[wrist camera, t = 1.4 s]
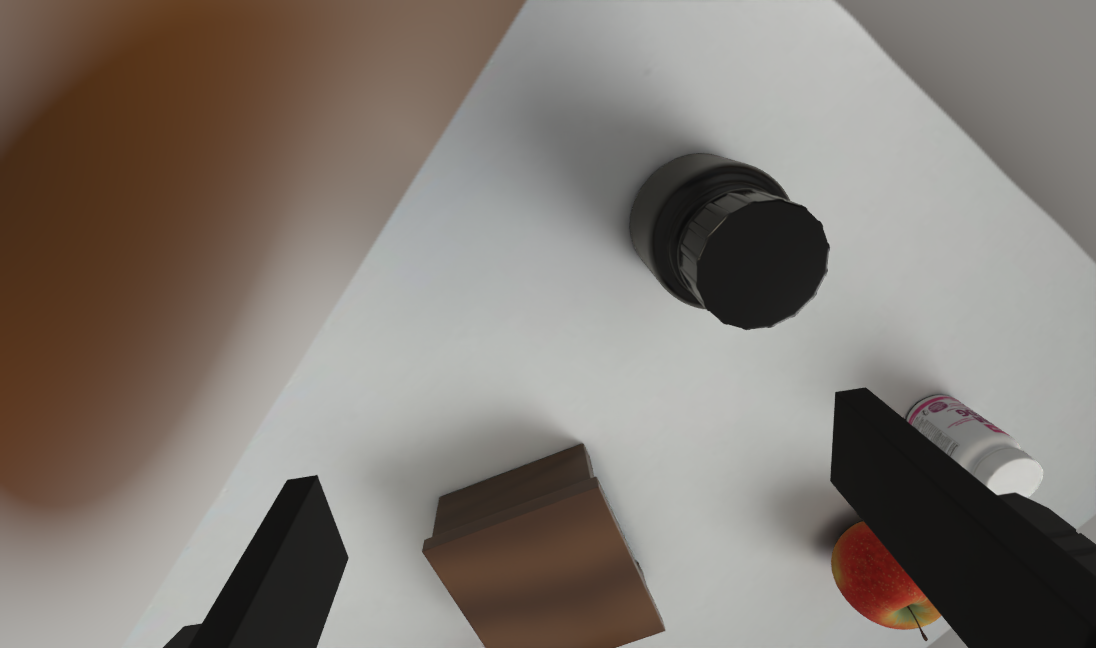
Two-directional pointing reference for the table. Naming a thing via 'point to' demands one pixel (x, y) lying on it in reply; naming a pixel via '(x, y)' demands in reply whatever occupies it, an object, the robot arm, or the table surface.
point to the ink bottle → (729, 240)
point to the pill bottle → (977, 445)
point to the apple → (878, 582)
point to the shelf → (541, 559)
